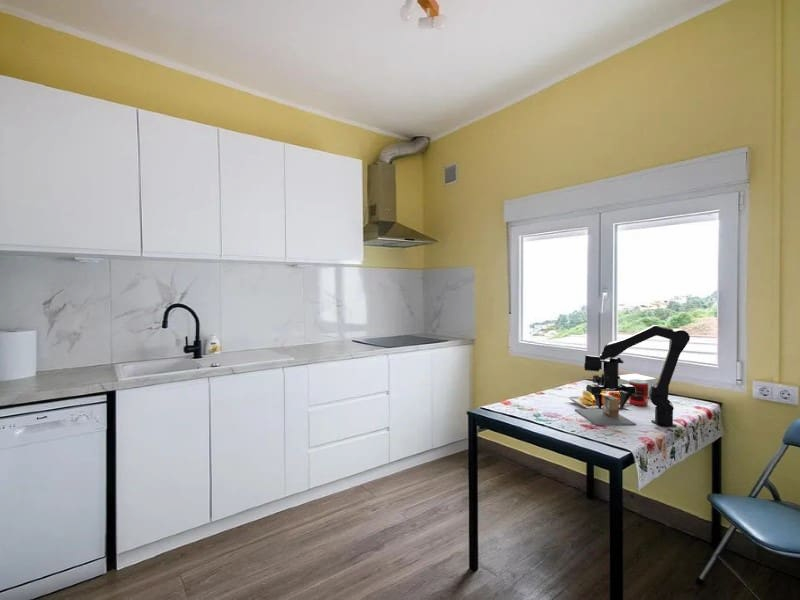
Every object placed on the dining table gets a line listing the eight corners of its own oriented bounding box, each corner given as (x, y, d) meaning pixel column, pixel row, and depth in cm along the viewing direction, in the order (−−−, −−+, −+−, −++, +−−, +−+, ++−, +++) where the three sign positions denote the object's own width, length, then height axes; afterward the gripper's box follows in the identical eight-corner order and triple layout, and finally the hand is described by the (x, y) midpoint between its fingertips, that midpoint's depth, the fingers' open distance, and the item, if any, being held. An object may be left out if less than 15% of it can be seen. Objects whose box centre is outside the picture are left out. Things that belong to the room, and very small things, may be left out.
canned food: (642, 401, 197) (642, 379, 196) (651, 406, 189) (651, 383, 188) (626, 401, 197) (626, 379, 197) (633, 406, 189) (634, 383, 189)
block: (618, 418, 171) (618, 399, 171) (609, 418, 171) (610, 399, 171) (611, 413, 177) (611, 395, 177) (602, 413, 177) (602, 395, 177)
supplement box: (633, 390, 219) (633, 373, 219) (656, 396, 207) (657, 378, 206) (610, 393, 213) (610, 375, 212) (633, 400, 201) (633, 381, 200)
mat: (635, 425, 164) (635, 423, 164) (596, 425, 164) (596, 423, 164) (610, 410, 184) (610, 408, 184) (574, 410, 184) (574, 409, 184)
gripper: (622, 368, 182) (622, 403, 182) (580, 368, 182) (580, 403, 182) (636, 374, 170) (636, 410, 171) (592, 374, 170) (592, 411, 171)
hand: (610, 408), depth 174 cm, fingers open, 9 cm apart
